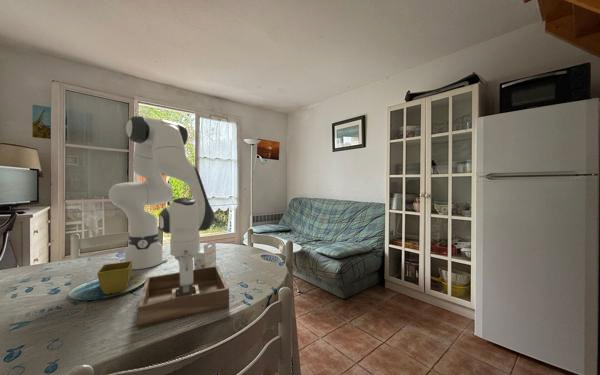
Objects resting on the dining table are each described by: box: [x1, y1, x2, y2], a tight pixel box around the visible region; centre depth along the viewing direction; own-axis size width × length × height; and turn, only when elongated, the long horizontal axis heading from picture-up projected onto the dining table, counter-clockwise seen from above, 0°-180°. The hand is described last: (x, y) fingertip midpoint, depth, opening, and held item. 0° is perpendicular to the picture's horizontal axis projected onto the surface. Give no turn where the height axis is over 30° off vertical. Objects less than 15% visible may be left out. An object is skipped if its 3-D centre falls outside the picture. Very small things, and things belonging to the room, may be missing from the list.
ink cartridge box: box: [193, 240, 217, 270], centre depth 98 cm, size 9×5×15 cm, turn 168°
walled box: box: [137, 265, 230, 330], centre depth 79 cm, size 22×24×6 cm
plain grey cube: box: [179, 279, 193, 297], centre depth 79 cm, size 4×4×4 cm
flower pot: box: [97, 261, 133, 295], centre depth 85 cm, size 9×9×9 cm
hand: (185, 288), depth 79 cm, fingers closed on plain grey cube, 4 cm apart
